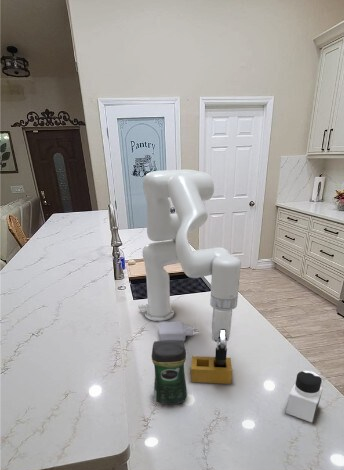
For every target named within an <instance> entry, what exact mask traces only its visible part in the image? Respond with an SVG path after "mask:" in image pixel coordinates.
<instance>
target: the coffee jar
mask: <svg viewBox="0 0 344 470" xmlns="http://www.w3.org/2000/svg"><path fill="white" fill-rule="evenodd" d="M186 360H187V351H186V346H185V343H184V341H182V340H164V341H160V340H154V342H153V343H152V349H151V361H152V364H153V365H154V382H153V396H154V401H155V402H156V403H158V404H161V405H175V404H181V403H184V402H185V401H186V399H187V396H188V389H187V382H186V373H185V362H186Z"/></svg>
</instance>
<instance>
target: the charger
mask: <svg viewBox="0 0 344 470" xmlns="http://www.w3.org/2000/svg"><path fill="white" fill-rule="evenodd" d="M158 323H159V328H158V329H159V330H158V333H159V341H164V340H182V341H183V342H184V341H186V336H187V337H188V336H195V335H194V334H195V333H199V332H200V331H199V328H194V327H193V326H185V322H184V321H182V320H181V321H180V320H179V321H159V322H158Z"/></svg>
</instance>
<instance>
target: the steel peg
mask: <svg viewBox="0 0 344 470" xmlns="http://www.w3.org/2000/svg"><path fill="white" fill-rule="evenodd" d="M215 367H224V368H225V360H216V361H215Z"/></svg>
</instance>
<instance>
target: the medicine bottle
mask: <svg viewBox="0 0 344 470" xmlns="http://www.w3.org/2000/svg"><path fill="white" fill-rule="evenodd" d="M322 382H323V381H322V377H321V376H320V375H319V374H318V373H316V372H315V371H311V370H302V371H299V372H298V373H297V374H296V378H295V380H294V383H293V385H292V387H291V389H290V392H289V394H288V398H287V404H286V408H285V409H286V410H285V414H287V415H290V416H292V417H295V418H298V419H300V420H303V421H305V422H309V423H314V420H315V418H316V415H317V412H318V408H319V405H320V401H321V397H322V394H323V390H324V388H323V387H322V386H321V385H322Z"/></svg>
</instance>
